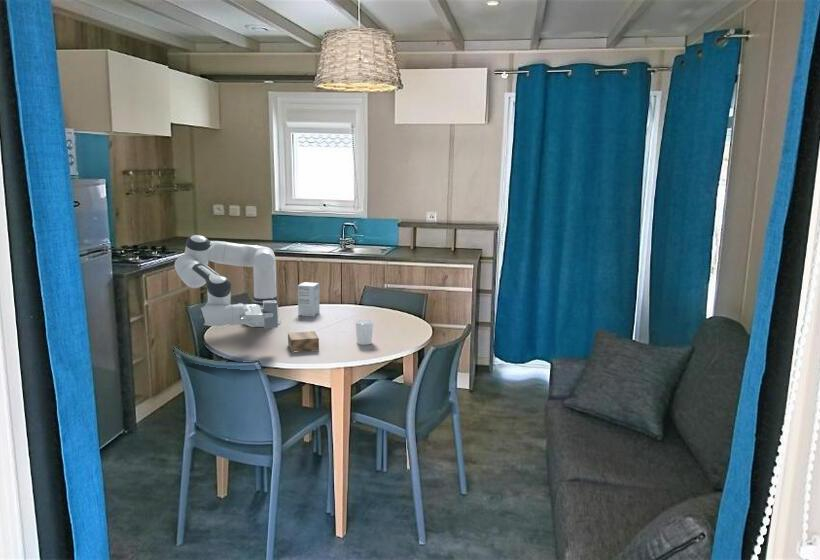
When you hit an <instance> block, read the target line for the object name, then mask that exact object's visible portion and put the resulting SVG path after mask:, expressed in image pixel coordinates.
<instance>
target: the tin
mask: <svg viewBox="0 0 820 560" xmlns="http://www.w3.org/2000/svg"><path fill="white" fill-rule="evenodd" d="M277 305H278V300H277V301H276V300H267V301H263V313H269V312H272V313H273V317H268V318H263V325H264V327H263V328H264V329H273V328H274V329H275V328H278V325H279V324H278V320H277Z"/></svg>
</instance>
